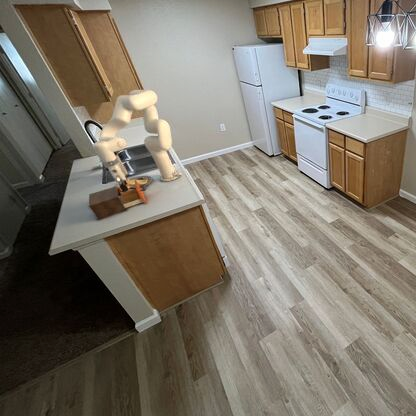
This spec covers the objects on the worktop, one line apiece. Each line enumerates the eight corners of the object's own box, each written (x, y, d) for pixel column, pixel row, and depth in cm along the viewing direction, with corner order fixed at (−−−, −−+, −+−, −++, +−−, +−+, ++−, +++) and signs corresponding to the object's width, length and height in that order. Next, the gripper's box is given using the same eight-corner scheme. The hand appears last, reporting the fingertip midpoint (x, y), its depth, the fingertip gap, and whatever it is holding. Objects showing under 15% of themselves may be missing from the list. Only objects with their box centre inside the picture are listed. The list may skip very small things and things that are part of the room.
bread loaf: (139, 195, 173) (134, 187, 170) (140, 198, 170) (135, 190, 167) (125, 200, 170) (120, 192, 166) (126, 203, 167) (121, 195, 163)
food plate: (105, 195, 180) (102, 191, 178) (130, 178, 199) (127, 174, 196) (137, 196, 176) (135, 191, 174) (159, 178, 195) (157, 174, 193)
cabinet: (124, 199, 174) (116, 186, 168) (126, 210, 163) (117, 196, 157) (98, 207, 168) (89, 194, 162) (98, 219, 157) (88, 206, 151)
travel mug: (125, 177, 201) (111, 152, 189) (117, 177, 201) (102, 153, 189) (130, 173, 206) (117, 149, 194) (122, 173, 206) (108, 149, 194)
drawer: (147, 190, 180) (141, 178, 175) (151, 201, 169) (144, 188, 164) (119, 200, 173) (111, 187, 167) (121, 211, 162) (112, 198, 156)
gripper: (118, 165, 150) (133, 191, 160) (117, 156, 162) (130, 180, 172) (103, 169, 147) (118, 195, 157) (102, 159, 159) (117, 184, 169)
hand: (125, 187), depth 164 cm, fingers open, 9 cm apart
